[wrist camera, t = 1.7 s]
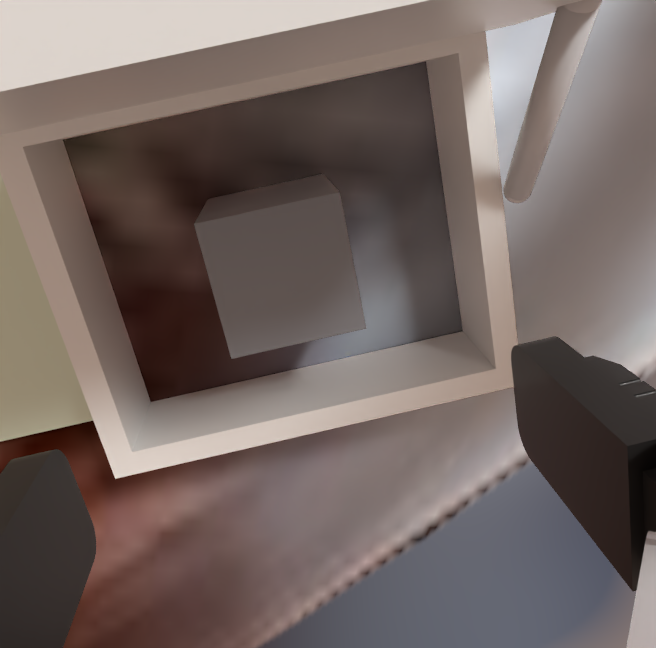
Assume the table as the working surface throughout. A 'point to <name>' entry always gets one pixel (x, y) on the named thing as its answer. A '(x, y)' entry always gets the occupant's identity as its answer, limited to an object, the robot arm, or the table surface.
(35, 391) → the mat
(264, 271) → the block
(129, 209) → the table surface
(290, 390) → the case
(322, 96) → the table surface
